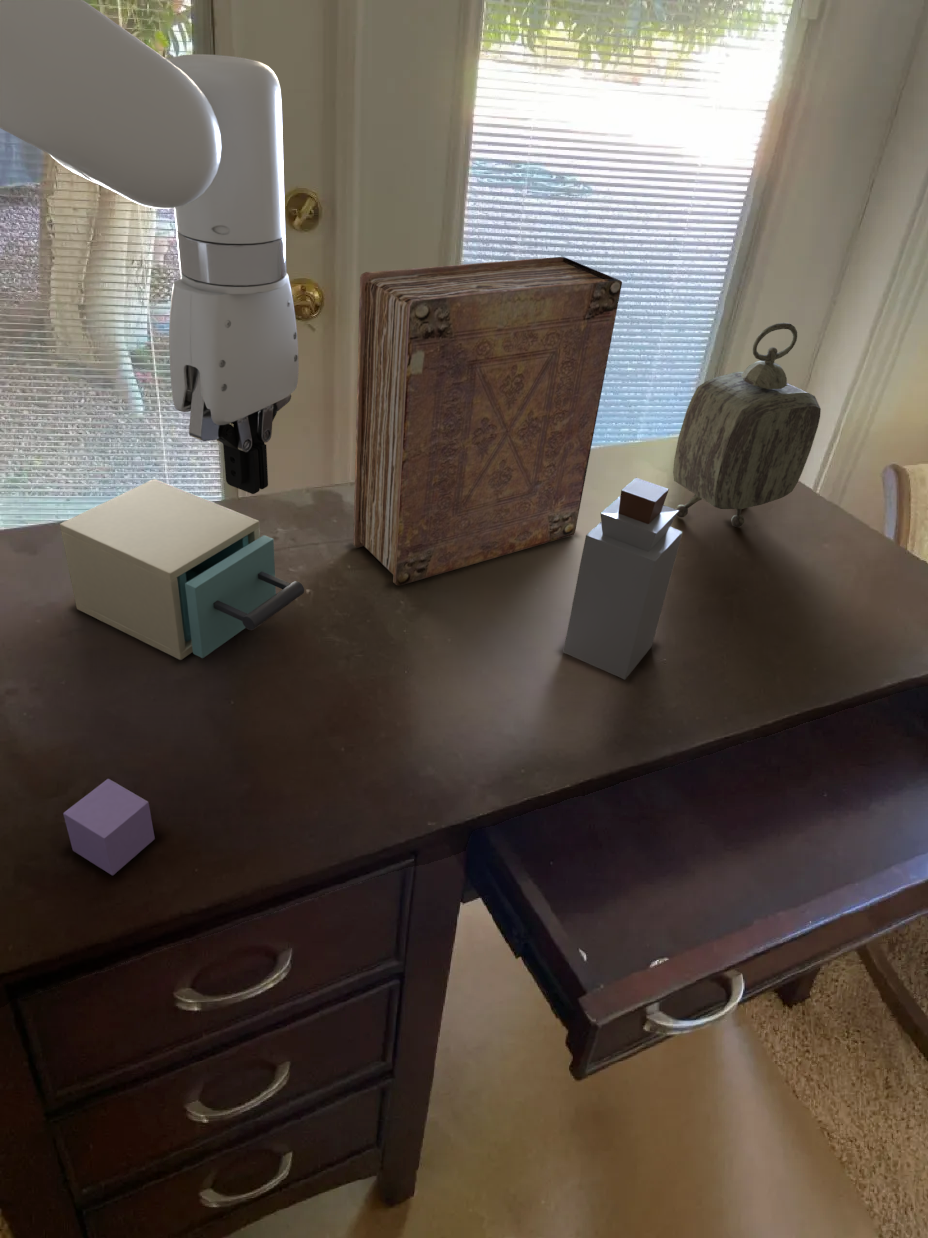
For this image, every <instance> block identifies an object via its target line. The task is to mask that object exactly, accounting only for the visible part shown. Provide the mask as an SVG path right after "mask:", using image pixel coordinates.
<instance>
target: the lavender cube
mask: <svg viewBox="0 0 928 1238" xmlns="http://www.w3.org/2000/svg"><path fill="white" fill-rule="evenodd" d="M62 814H63V818H64V822H65V826H66V829H67V834H68V837H69V841H70V845H71V848H72V852H74V853H76V854H77V855H79V856H81V857H82V858H84V859H85V860H87V861H89V862H90V863H92V864H93V865H95V866H96V867H98V868H99V869H101V870H103V871H105V872H106V873H107V874H109V875H111V876H112V877H113V876H114V875H116V874H117V872H119V871H120V870H121V869H122V868H124V867H125V866H126V865H127V864H128V863H129V862H131V860H132V859H134V858H135V857H136V856H137V855H138V854H139V853H141V852H142V851H143V850H144V849H145V848H146V847H148V846H149V845H150V844H151V843H152V842H153V841H154V840H155V839H156V838H155V832H154V826H153V821H152V815H151V809H150V804H149V801H148V800H146V799H144V798H142V797H141V796H139V795H137V794H135V793H134V792H132V791H130V790H128V789H127V788H125V787H123V786H122V785H120V784H118V783H117V782H115V781H113V780H111V779H110V778H107V779H106V780H104V781H103V782H101V783H100V784H98V786H96V787H95V788H94V789H93V790H91V791H90V792H89V793H87V794H86V795H85V796H84V797H82V798H81V799H79V800H78V801H77V802H75V803H74V804H73V805H72V806H70V807H69V808H68V809H67V810H65V811H64V812H63V813H62Z"/></svg>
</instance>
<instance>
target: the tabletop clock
mask: <svg viewBox="0 0 928 1238" xmlns="http://www.w3.org/2000/svg"><path fill="white" fill-rule="evenodd" d="M778 330H788V331H790V332H791V335H792V339H791V342H790V344H789V345H788V346H787V347H785V348H784V349H783V350H781V351H779V352H778V349H777V348H776V347H774V346H772V347H769V348H768V349H767V353H766V354H762V353H759V352H758V346H759V344H760V342H761V341H762V340H763V339H764V338H765V337H766V335H768V334H770V333H771V332H774V331H778ZM797 340H798V330H797V329H796V327H795V326H794V325H793V324H792V323H789V322H779V323H775V324H772V325H769V326H767V327H766V328H765V329H763V330H762V331H761V332H760V333H759V334H758V335H757V337H756V338H755V340H754V342H753V344H752V355H753V356H754V358H755V359H757V361H755V362H753V363H751V364H750V365H748V366H747V367H746V368H745V369H744V370H743V371H735V372H731V373H727V374H724V375H720V376H716V377H712V378H710V379H708V380H706V381H704V382H703V383H701V384H700V385H698V386H697V388H696V390H695V391H694V393H693V395H692V396H691V399H690V401H689V404H688V406H687V409H686V411H685V415H684V418H683V421H682V425H681V428H680V431H679V434H678V437H677V443H676V448H675V455H674V460H673V468H672V474H673V475H672V476H673V481H674V482H675V483H677V484H678V485H680V486H682V487H683V488H684V489H686V490H687V491H689V492H691V493H692V494H693V496H692V497H691V499H689V501H687V503H685V504H678V505H677V506H676V507H675V509H676V510H679V511H678V513H677V515H676V517H678V518H685V517H686V516H687V515H688V514H689V508H690V507H692V506H693V505H695V504H696V503H697V502H699V501H701V500H703V501H705V502H707V503H708V504H709V505H711V506H713V507H714V508H717V509H720V510H735V513H736V514H734V515H733V516H732V517H731V521H730V522H731V525H732V527H735V528H740V527H743V526H744V524H745V522H746V521H745V517H744V515H742V510H743V509H747V508H748V509H749V508H753V507H757V506H762V505H765V504H768V503H771V502H774V501H777V500H779V499H783V498H784V497H786V496H788V495H789V494H790V493H792V492H793V491H794V490H795V488H796V486H797V484H798V482H799V480H800V478H801V476H802V474H803V471H804V469H805V466H806V463H807V460H808V458H809V455H810V453H811V451H812V447H813V445H814V442H815V441H814V440H815V438H816V434H817V431H818V428H819V424H820V420H821V412H822V411H821V410H822V409H821V406H820V404H819V402H818V399H817V398H816V396H815V395H813V394H812V393H810V392H808V391H805V390H803V389H801V388H799V387H797V386H795V385H793V384H790V383H788V379H787V374H786V372H785V370H784V369H783V367H782V366H781V364H779V363H777V362H776V360H778V359H781V358H783V357H784V356H787V355H788V354H789V353H790V352H791V350H792V349H793V348H794V347H795V345H796V343H797Z"/></svg>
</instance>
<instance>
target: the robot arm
mask: <svg viewBox="0 0 928 1238" xmlns="http://www.w3.org/2000/svg"><path fill="white" fill-rule="evenodd" d="M0 129H1V130H2V131H5V132H7V133H9V134H10V135H13V136H14V137H15V138H18V139H19V140H22V141H24V142H26V143H27V144H30V145H31V146H33V147H35V148H37V149H38V150H40V151H42V152H44V153H46V154H48V155H49V156H50V157H51V158H52V159H54V160H55V161H56V162H57V163H58V164H60V165H61V166H62V167H64V168H65V169H67V170H68V171H70V172H71V173H73V174H76V175H78V176H80V177H82V178H84V179H86V180H87V181H90V182H92V183H93V184H95V185H98V186H101V187H103V188H105V189H108V190H110V191H111V192H113V193H116V194H118V195H119V196H121V197H123V198H125V199H127V200H129V201H131V202H133V203H135V204H137V205H139V206H143V207H147V208H152V209H157V210H162V209H165V210H166V209H173V211H174V222H175V230H176V231H175V232H176V243H177V253H178V264H179V272H180V278H179V279H178V280H175V281H174V282H173V283H172V290H171V297H170V307H169V308H170V309H169V323H168V324H169V328H168V351H169V352H168V353H169V369H170V370H169V373H170V374H169V375H170V387H171V395H172V396H171V397H172V401H173V406H174V408H175V410H177V411H178V412H180V413H189V412H190V414H189V425H188V434H189V436H190V437H191V438H194V439H197V440H199V441H202V442H210V441H216V442H217V443H219V444H221V445H222V448H223V461H224V473H225V482H226V483H227V485H228V486H230V487H234V488H236V489H239V490H241V491H242V492H243V491H244V492H246V493H248V494H251V495H255V494H258V493H259V492H260V490H264V489H266V488H268V486H269V473H268V453H267V450H268V449H267V444H266V443H269V441H270V440H271V438H272V433H273V422H274V419H275V418H276V415H277V413H278V412H280V410H281V409H282V408H284V407H285V406H286V405H288V403H289V402H291V399H292V394H293V393H294V392H295V390H296V389H297V387H298V382H299V367H300V365H299V364H300V363H299V361H300V360H299V340H298V330H297V329H298V328H297V319H296V311H295V305H294V297H293V291H292V286H291V282H290V277H289V274H288V273H287V246H286V245H287V238H286V209H285V206H286V205H285V204H286V203H285V173H284V139H283V138H284V137H283V134H284V133H283V102H282V89H281V85H280V81H279V78H278V76H277V75H276V73H275V71H274V70H273V69H272V68H271V67H270V66H269V65H267V64H265V63H263V62H261V61H258V60H254V59H250V58H245V57H241V56H233V55H222V54H207V53H206V54H205V53H204V54H203V53H194V54H193V53H192V54H181V55H178V56H175V57H170V58H169V57H164V56H163V55H161V54H160V53H159V52H157V51H156V50H155V49H153V48H152V47H150V46H149V45H147V44H146V43H145V42H144V41H142V40H140V38H138V37H136V36H135V35H134V34H132V33H131V32H129V31H128V30H126V28H123V26H121V25H119V24H118V23H116V22H115V21H114V20H113V19H111V18H110V17H108V16H107V15H105V14H104V13H102V12H101V11H99V10H98V9H96V8H95V7H94V6H92V5H91V4H90V3H88V2H87V1H85V0H0Z"/></svg>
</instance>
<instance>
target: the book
mask: <svg viewBox="0 0 928 1238" xmlns="http://www.w3.org/2000/svg"><path fill="white" fill-rule="evenodd" d="M622 287H623V281H622V280H621V279H618V278H616V277H613V276H611V275H609V274H607V273H603V272H602V271H600V270H597V269H594V268H592V267H590V266H588V265H585V264H582V263H581V262H578V261H575V260H573V259H571V258H568V257H565V256H552V257H541V258H540V257H539V258H528V259H515V260H513V259H512V260H502V261H490V262H489V261H488V262H476V263H475V262H474V263H463V264H462V263H461V264H452V265H450V264H449V265H438V266H426V267H425V266H424V267H414V268H413V267H411V268H400V269H398V268H397V269H387V270H375V271H365V272H363V273H361V274H360V277H359V307H358V338H357V339H358V341H357V379H356V380H357V381H356V416H355V417H356V420H355V421H356V422H355V424H356V425H355V452H354V453H355V456H354V463H355V464H354V489H353V490H354V494H353V496H354V497H353V532H352V534H353V535H352V545H353V546H354V547H355V548H356V549H358V548H362V547H364V548H365V549H366V550H368V551H369V553H370V554H371V555H373V556H374V557H375V558H376V559H377V560H378V561H379V562H380V563H381V564H382V565H383V567H384V568H386V569H387V570H388V571H389V572H390V573H391V574H392V576H393V580H392V582H393V583H394V584H395V585H396V586H403V585H406V584H410V583H413V582H417V581H420V580H423V579H428V578H430V577H434V576H437V575H441V574H444V573H448V572H451V571H454V570H458V569H462V568H464V567H465V568H466V567H469V566H472V565H474V564H478V563H482V562H485V561H489V560H493V559H495V558H496V559H497V558H499V557H502V556H506V555H509V554H513V553H516V552H520V551H523V550H526V549H531V548H534V547H538V546H540V545H544V544H547V543H550V542H555V541H557V540H561V539H564V538H568V537H572V536H574V535H575V534H576V529H577V524H578V520H579V514H580V508H581V503H582V498H583V493H584V487H585V481H586V476H587V471H588V465H589V460H590V456H591V449H592V446H593V439H594V435H595V429H596V424H597V419H598V413H599V407H600V402H601V397H602V392H603V387H604V381H605V377H606V376H605V375H606V370H607V365H608V360H609V355H610V349H611V345H612V338H613V334H614V329H615V322H616V319H617V312H618V306H619V303H620V296H621V291H622Z"/></svg>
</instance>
